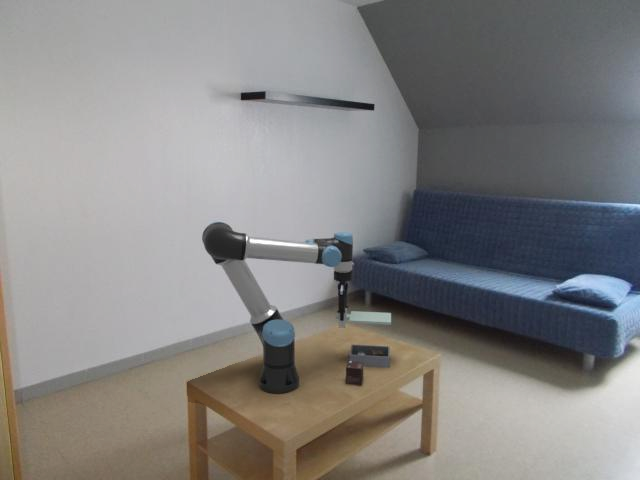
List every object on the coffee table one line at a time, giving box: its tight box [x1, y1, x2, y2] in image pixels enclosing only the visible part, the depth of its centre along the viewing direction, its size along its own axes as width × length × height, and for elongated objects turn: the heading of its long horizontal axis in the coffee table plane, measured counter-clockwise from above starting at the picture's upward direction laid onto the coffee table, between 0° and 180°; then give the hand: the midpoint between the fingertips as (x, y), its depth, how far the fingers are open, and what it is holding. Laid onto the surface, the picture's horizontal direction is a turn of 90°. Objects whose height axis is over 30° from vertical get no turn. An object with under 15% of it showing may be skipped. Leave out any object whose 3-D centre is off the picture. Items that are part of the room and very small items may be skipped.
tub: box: [349, 344, 390, 369], centre depth 205 cm, size 16×11×5 cm
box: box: [345, 360, 364, 387], centre depth 187 cm, size 6×6×7 cm
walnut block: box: [371, 350, 383, 356], centre depth 204 cm, size 4×4×4 cm
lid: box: [335, 308, 392, 326], centre depth 202 cm, size 22×12×4 cm, turn 82°
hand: (342, 325), depth 204 cm, fingers closed on lid, 4 cm apart
